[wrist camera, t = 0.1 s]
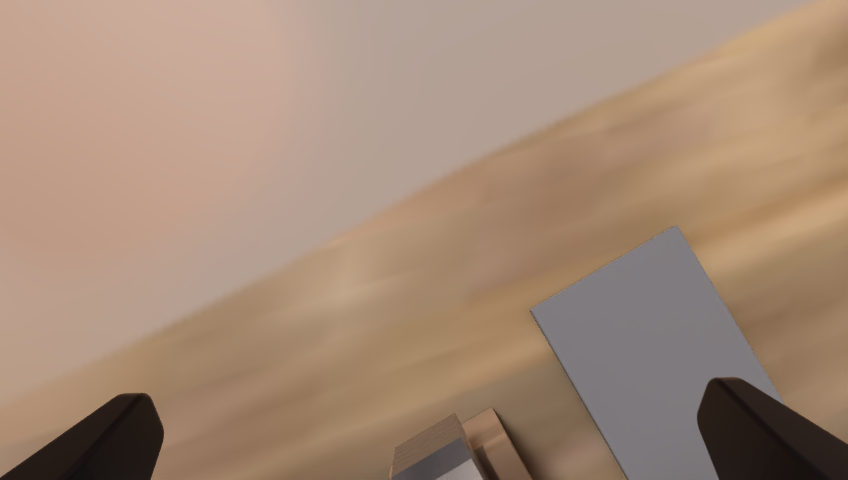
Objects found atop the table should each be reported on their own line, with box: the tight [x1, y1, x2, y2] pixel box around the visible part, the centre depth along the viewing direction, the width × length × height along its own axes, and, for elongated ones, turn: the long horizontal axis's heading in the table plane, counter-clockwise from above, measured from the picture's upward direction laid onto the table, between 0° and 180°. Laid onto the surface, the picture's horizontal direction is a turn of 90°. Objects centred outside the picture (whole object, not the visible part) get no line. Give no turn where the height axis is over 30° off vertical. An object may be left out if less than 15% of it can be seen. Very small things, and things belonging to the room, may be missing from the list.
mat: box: [530, 226, 786, 480], centre depth 22 cm, size 20×8×1 cm, turn 30°
